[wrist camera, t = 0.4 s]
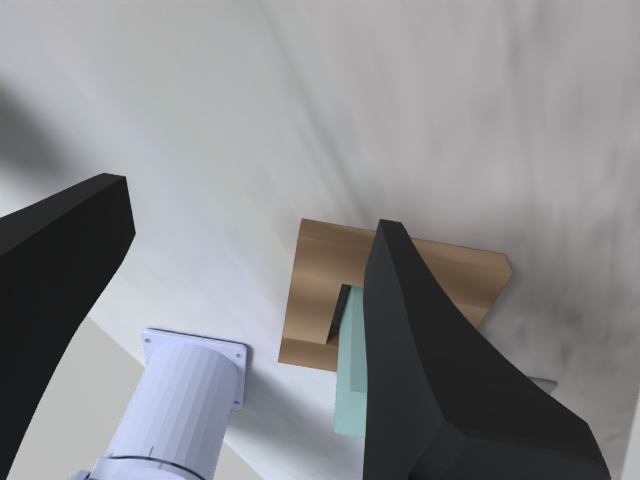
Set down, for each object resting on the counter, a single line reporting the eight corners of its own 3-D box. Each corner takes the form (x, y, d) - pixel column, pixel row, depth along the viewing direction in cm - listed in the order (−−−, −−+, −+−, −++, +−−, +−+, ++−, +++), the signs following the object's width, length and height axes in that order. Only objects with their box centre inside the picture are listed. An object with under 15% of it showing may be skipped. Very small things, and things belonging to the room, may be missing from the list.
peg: (401, 330, 29) (411, 445, 23) (340, 320, 29) (333, 432, 23) (420, 287, 26) (438, 405, 20) (353, 275, 26) (349, 390, 20)
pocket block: (436, 369, 32) (439, 388, 30) (281, 344, 31) (277, 362, 30) (505, 254, 24) (512, 273, 23) (301, 218, 24) (298, 235, 22)
